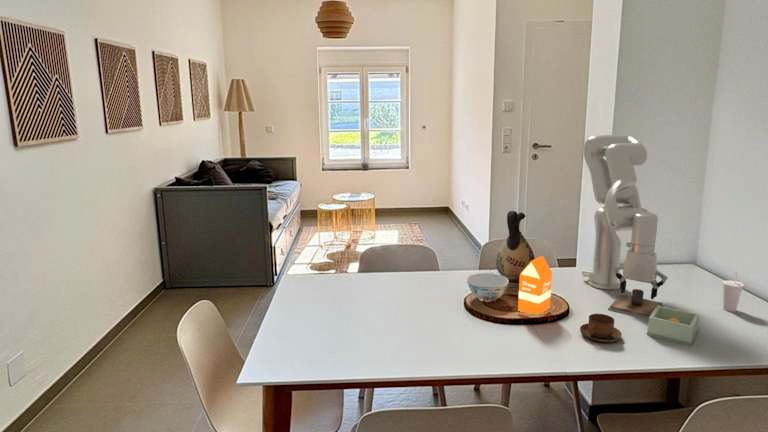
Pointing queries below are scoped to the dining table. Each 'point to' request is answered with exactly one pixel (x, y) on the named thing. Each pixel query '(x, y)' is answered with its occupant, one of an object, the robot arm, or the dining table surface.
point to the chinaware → (487, 285)
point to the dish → (673, 325)
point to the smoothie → (731, 294)
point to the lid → (635, 303)
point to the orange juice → (535, 287)
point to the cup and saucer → (600, 328)
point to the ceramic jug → (514, 251)
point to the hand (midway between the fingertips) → (637, 295)
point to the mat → (629, 312)
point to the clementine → (674, 320)
